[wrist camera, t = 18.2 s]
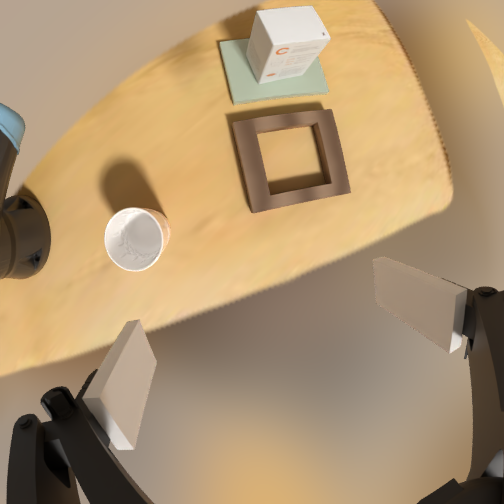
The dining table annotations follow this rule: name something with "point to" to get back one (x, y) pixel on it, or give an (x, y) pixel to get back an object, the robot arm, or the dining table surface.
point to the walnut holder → (254, 164)
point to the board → (250, 91)
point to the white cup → (136, 237)
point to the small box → (285, 42)
